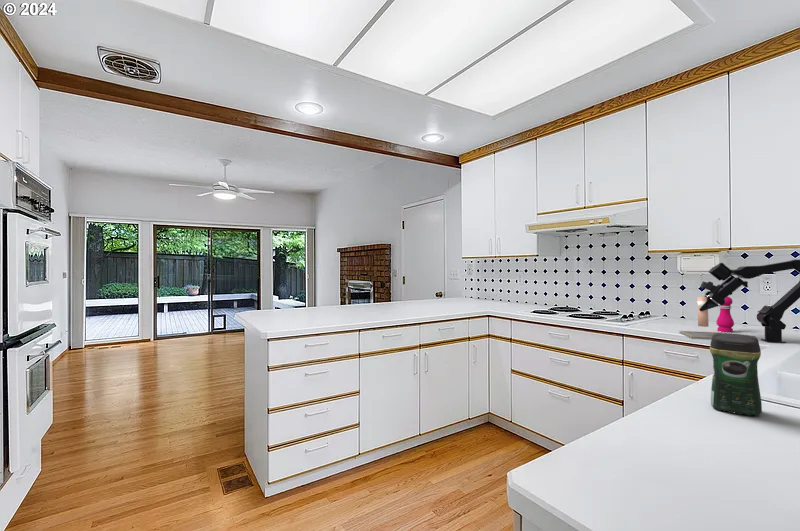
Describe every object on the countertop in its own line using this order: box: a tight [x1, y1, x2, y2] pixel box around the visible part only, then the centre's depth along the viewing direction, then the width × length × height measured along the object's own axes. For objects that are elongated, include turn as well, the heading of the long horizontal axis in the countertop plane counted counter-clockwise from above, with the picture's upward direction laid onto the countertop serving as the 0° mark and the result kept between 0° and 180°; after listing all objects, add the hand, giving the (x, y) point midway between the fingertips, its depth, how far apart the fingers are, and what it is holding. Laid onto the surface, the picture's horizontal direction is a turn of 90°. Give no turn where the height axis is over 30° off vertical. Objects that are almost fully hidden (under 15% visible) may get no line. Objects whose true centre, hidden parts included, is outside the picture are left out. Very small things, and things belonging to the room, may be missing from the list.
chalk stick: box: [696, 296, 710, 328], centre depth 193 cm, size 4×4×14 cm
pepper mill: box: [716, 296, 735, 333], centre depth 209 cm, size 7×7×20 cm
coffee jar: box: [709, 332, 763, 416], centre depth 98 cm, size 10×8×19 cm
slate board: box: [678, 330, 722, 340], centre depth 195 cm, size 16×18×1 cm
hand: (699, 310), depth 194 cm, fingers closed on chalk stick, 4 cm apart
